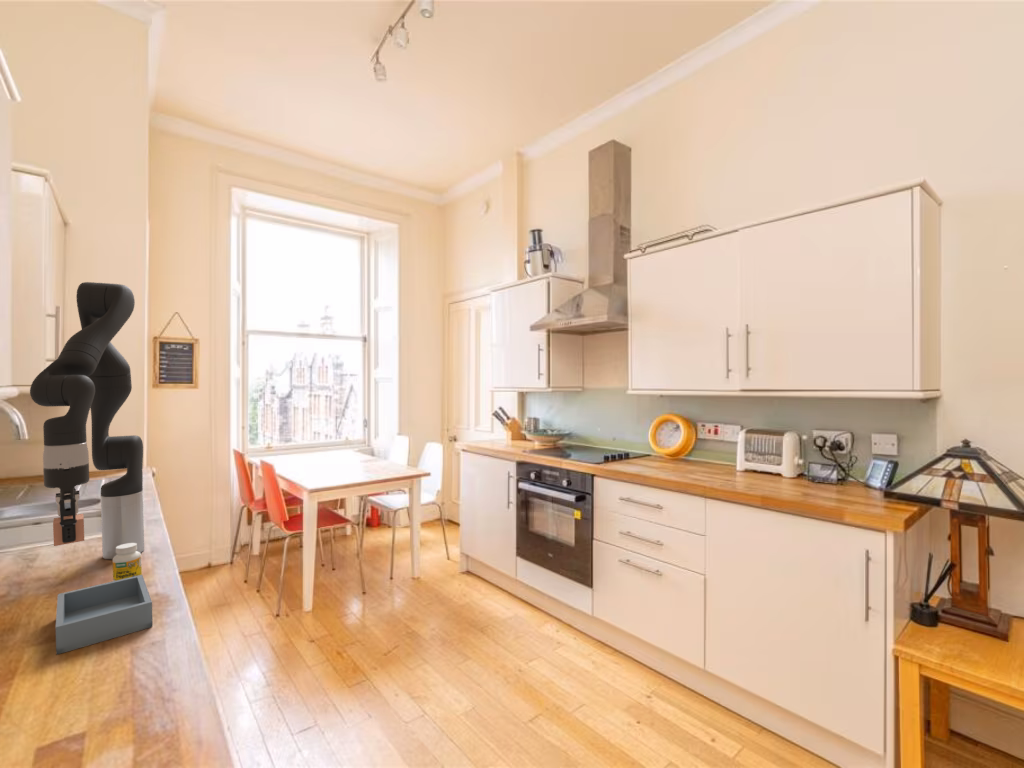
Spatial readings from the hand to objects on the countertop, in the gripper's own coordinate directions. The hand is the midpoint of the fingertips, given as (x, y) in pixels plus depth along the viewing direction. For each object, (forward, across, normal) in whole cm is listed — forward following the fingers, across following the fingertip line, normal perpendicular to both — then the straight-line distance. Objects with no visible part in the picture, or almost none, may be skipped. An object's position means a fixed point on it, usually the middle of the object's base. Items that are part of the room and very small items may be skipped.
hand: (69, 538), depth 109 cm
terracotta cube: (+1, 0, 0) cm, 1 cm away
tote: (+13, +19, +5) cm, 24 cm away
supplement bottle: (+14, 0, +10) cm, 17 cm away
